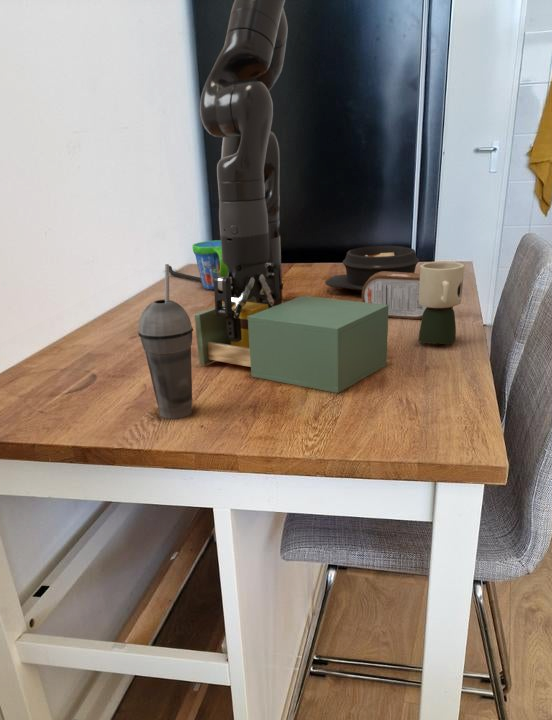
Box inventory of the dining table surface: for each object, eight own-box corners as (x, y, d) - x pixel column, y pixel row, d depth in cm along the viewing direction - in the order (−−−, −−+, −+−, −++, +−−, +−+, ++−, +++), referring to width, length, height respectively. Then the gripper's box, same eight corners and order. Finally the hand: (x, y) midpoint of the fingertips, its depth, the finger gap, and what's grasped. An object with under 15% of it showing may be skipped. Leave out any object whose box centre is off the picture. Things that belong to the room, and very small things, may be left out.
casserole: (318, 299, 156) (318, 259, 151) (331, 281, 171) (331, 244, 167) (434, 299, 150) (437, 258, 146) (437, 281, 166) (439, 243, 162)
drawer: (192, 363, 118) (186, 312, 114) (246, 340, 128) (243, 293, 124) (275, 378, 109) (272, 325, 105) (327, 352, 119) (326, 303, 115)
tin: (438, 317, 137) (441, 272, 133) (434, 321, 135) (437, 276, 131) (364, 313, 143) (365, 269, 139) (359, 316, 141) (360, 273, 136)
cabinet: (251, 376, 112) (247, 316, 107) (304, 351, 122) (302, 295, 117) (338, 393, 103) (337, 328, 98) (386, 364, 114) (388, 304, 109)
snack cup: (192, 283, 177) (188, 240, 172) (234, 279, 179) (231, 236, 174) (201, 296, 164) (196, 250, 159) (245, 291, 166) (242, 246, 161)
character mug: (464, 351, 118) (471, 270, 111) (421, 353, 118) (425, 272, 111) (451, 333, 127) (457, 258, 121) (411, 335, 127) (415, 260, 121)
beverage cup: (151, 405, 103) (131, 261, 93) (201, 401, 103) (186, 258, 93) (148, 424, 96) (126, 272, 86) (201, 420, 97) (185, 268, 87)
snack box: (230, 349, 119) (227, 307, 115) (247, 342, 122) (244, 301, 118) (254, 353, 116) (252, 310, 113) (270, 346, 119) (268, 304, 116)
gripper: (252, 223, 117) (258, 322, 125) (195, 236, 107) (206, 342, 115) (290, 225, 113) (293, 326, 121) (234, 238, 103) (242, 348, 111)
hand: (250, 334), depth 118 cm, fingers open, 8 cm apart
